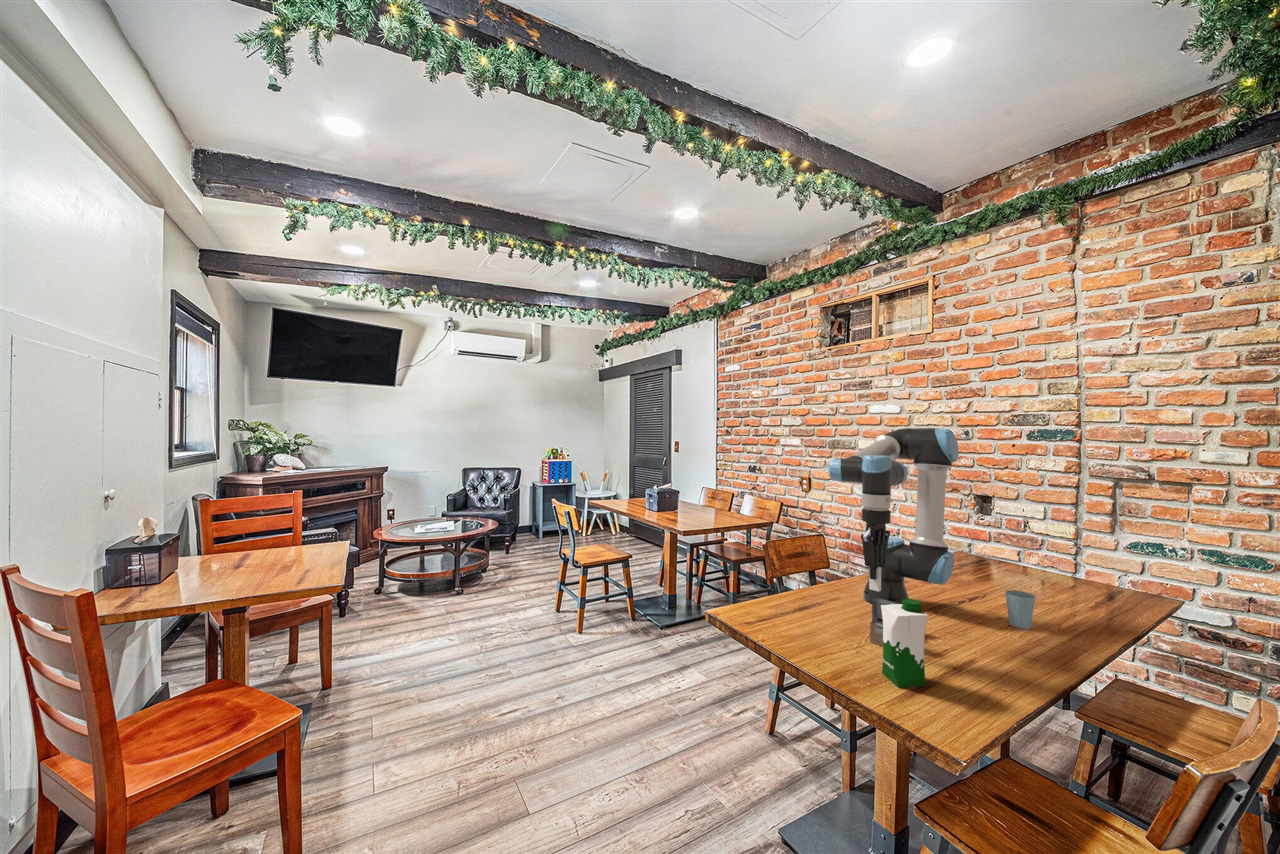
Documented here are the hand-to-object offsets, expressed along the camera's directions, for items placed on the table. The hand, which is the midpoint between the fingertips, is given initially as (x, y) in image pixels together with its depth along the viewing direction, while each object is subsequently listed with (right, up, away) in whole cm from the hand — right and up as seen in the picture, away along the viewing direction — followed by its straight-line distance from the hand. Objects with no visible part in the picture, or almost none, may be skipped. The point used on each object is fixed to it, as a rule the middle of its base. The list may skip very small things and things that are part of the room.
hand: (875, 589), depth 139 cm
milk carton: (-1, -17, -17) cm, 24 cm away
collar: (+6, -17, +4) cm, 19 cm away
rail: (+10, -17, +7) cm, 21 cm away
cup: (+56, -18, +18) cm, 62 cm away
